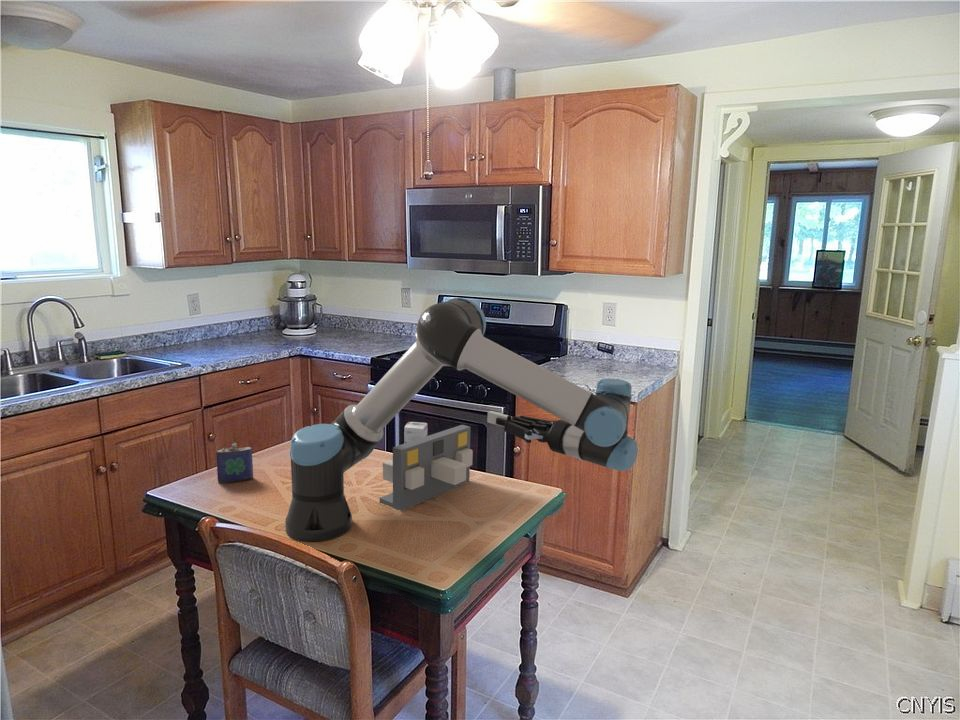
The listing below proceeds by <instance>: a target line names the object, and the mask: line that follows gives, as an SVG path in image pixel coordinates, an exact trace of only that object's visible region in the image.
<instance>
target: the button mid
mask: <svg viewBox="0 0 960 720" xmlns="http://www.w3.org/2000/svg"><path fill="white" fill-rule="evenodd" d="M431 477H433V478H436V479H439V480H442V481H444V482H447V483H450V484H453V485H456V484H459V483H461V482H463V481H466V464H464V463H461V462H458V461H455V460H452V459H449V458H446V457H442V456H440V457H438V458H435V459H432V460H431Z"/></svg>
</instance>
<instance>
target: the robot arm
mask: <svg viewBox="0 0 960 720" xmlns="http://www.w3.org/2000/svg"><path fill="white" fill-rule="evenodd" d="M485 316H486V315H485V313H484V312H483V310H482V308H481V306H479V305H478V303H476V302H475V301H473V300H471V299H469V298H462V297H453V298H450V299H448V300H446V301H443V302H438V303H434V304H432V305H430V306H429V307H427V308H426V309H425V310H424V311H423V312H422V313H421V315H420V317H419V319H418V321H417V324H416V331H415V341H414V343H413V344H412V345H411V346H410V347H409V348H408V349H407V350H406V351H405V352H404V354H403V355H402V356H401V357H400V358H399V359H398V360H397V361H396V362H395V363H394V364H393V365H392V367H391V368H390V369H389V370H388V371H387V372H386V373H385V374H384V375H383V376H382V377H381V378H380V380H378V382H377V383H376V384H375V385H374V386H373V387H372V388H371V390H369V391H368V393H367V394H366V395H365V396H364V397H363V398H362V399H361V400H360V401H359V402H358V403H357V404H350V405H347V407H345V409H344V410H343V411H342V412H341V413H340V414H338V416H337V417H336V418H335V419H334V420H333V421H332V422H331V423H318V424H317V423H316V424H313V425H311V426H310V425H307V426H305V427H302V428H300V429H299V430H297V431H296V432H295V433H294V434H293V435H292V437H291V439H290V449H289V456H290V457H289V458H290V474H291V491H292V492H291V493H292V495H291V496H292V497H291V501H290V504H289V507H288V511H287V515H286V517H285V521H284V522H285V525H284V526H285V533H286V534H287V535H288V536H289V537H290V538H292V539H295V540H299V541H303V542H322V541H328V540H332V539H335V538H339V537H340V536H343V535H344V534H346V533H348V532H349V531H350V529H351V528H352V526H353V515H352V511H351V510H350V507H349V503H348V501H347V498H346V496H345V491H344V490H345V487H344V486H345V485H344V484H345V483H344V482H345V481H344V477H345V476H344V473H346V472H347V471H348V470H349V469H351V468H353V467H354V466H355V465H358V463H359V462H361V461H363V460H365V459H366V458H368V456H369V455H371V454H372V452H373V451H374V449H375V448H376V447H377V444H378V443H379V442H380V441H381V440H382V439H383V437H384V428H385V427H386V426H387V425H388V424H389V423H390V422H391V421H392V420H393V418H395V417H396V416H397V415H398V414H399V413H400V411H401V410H402V409H403V408H404V407H405V406H406V405H407V404H408V403H409V402H410V401H411V400H412V399H413V398H414V397H415V396H416V394H418V393H419V392H420V390H422V389H423V387H424V386H425V385H426V384H427V383H429V381H430V380H431V379H432V378H433V377H434V376H435V375H436V373H438V372H439V371H440V370H441V369H442V368H443V367H452V368H453V369H455V370H457V371H462V370H467V371H469V372H471V373H473V374H475V375H477V376H479V377H481V378H482V379H485V380H486V381H488V382H490V383H492V384H494V385H496V386H497V387H500V388H501V389H504V390H505V391H508V392H509V393H511V394H513V395H515V396H517V397H518V398H521V399H523V400H524V401H526V402H528V403H530V404H532V405H533V406H536V407H537V408H539V409H541V410H543V411H545V412H547V413H549V414H551V415H553V416H555V417H557V418H558V420H548V419H542V418H538V417H532V416H526V415H520V416H511V415H508V414H504V413H501V412H497V411H493V410H490V411H487V417H486V418H487V421H486V422H487V423H488V424H491V425H495V426H498V427H503V429H504V430H503V431H504V432H505V433H507V434H509V435H512V436H514V437H516V438H519V439H521V440H523V441H525V443H527V444H530V443H532V440H536V441H538V442H540V443H547V446H548V447H549V449H550V450H551V451H552V452H554V453H558V454H561V455H567V456H568V457H571V458H576V459H577V460H578V461H580V462H581V461H584V462H585V461H586V462H588V463H592V464H595V465H598V466H601V467H604V468H606V469H610V470H614V471H619V472H627V471H629V470H631V469H632V468H633V466H634V465H635V463H636V461H637V458H638V452H639V447H638V442H637V440H636V439H634V438H631V437H630V436H629V435H628V434H629V433H628V432H629V429H628V427H629V421H630V420H629V418H630V412H631V403H632V384H631V383H630V382H628V381H627V380H624V379H620V378H619V379H618V378H610V377H609V378H601V379H600V380H598V381H597V382H596V387H595V388H596V390H595V391H594V393H592V392H591V391H589V390H587V389H585V388H583V387H582V386H579V385H578V384H575V383H573V382H572V381H570V380H568V379H565V378H564V377H562V376H561V375H559V374H556V373H554V372H552V371H550V370H548V368H547V369H546V368H545V367H543V366H541V365H539V364H537V363H535V362H533V361H532V360H529V359H528V358H525V357H523V356H521V355H519V354H518V353H515V352H514V351H512V350H509V349H508V348H506V347H504V346H502V345H500V344H499V343H497V342H494V341H493V340H491V339H489V338H487V337H485V336H484V335H485V332H486V328H487V321H486V319H487V318H486V317H485Z"/></svg>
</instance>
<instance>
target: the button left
mask: <svg viewBox="0 0 960 720" xmlns="http://www.w3.org/2000/svg"><path fill="white" fill-rule="evenodd" d="M382 479H383V480H384V481H387V482H389V483H391V484H393V458H392V459H390V460H386V461H384V462H382ZM423 485H424V468H422V467H419V466H413V467H411V468H408V469H405V470H404V487H405V488H408V489H410V490H413V489H415V488H418V487H420V486H423Z"/></svg>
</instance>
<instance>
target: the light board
mask: <svg viewBox="0 0 960 720" xmlns="http://www.w3.org/2000/svg"><path fill="white" fill-rule="evenodd" d="M471 431H472V429H471V426H468V425H466V424H460V425H458V426H457V425H456V426H454V427H451V428H448V429H444V430H441V431H439V432H436V433H432V434H429V435H427V436H426V437H423V438H420V439H417V440H414V441H411V442H408V443H405V444H404V443H403V444H402V443H401V444H398V445H396V446H393V447H392V459H393V483H392V492H391V493H388V494H385V495H383V496H380V497H378V498H379V503H381V504H383V505H385V504H386V505H385V506H387V505H388V506H387V507H390V508H393V509H395V510H397V511H400V512H403V511H406V510H408V509H409V508H412V507H414V506H416V504H417V505H419V504H421V503H424V502H426V501H428V500H430V499H433V498H435V497H437V496H439V495H442V494H444V493H446V492H448V491H451V490H453V489H456V488H458V487H460V486H463V485H464V484H467V483H470V478H471V477H470V475H471V474H470V472H471V470H470V468H471V466H469V467H467V468H466V481H463V482H461V483H459V484H456V485H453V484H450V483H447V482H444V481H442V480H439V479H436V478H433V477H431V460H432V459H435V458H438V457H440V456H442V457H446V458H449V459H452V460H455V451H457V450H459V449H462V448H468V449H471ZM413 466H419V467H422V468H424V485H423V486H420V487H418V488H415V489H413V490H410V489H408V488H405V487H404V470H405V469H408V468H411V467H413ZM432 497H433V498H432ZM425 500H426V501H425ZM418 503H419V504H418Z"/></svg>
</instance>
